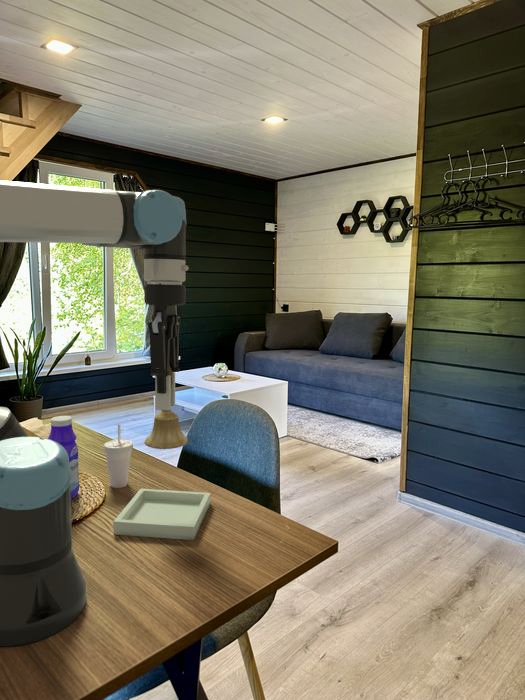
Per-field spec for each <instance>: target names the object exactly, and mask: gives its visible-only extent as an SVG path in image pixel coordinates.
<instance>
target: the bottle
mask: <svg viewBox="0 0 525 700" xmlns="http://www.w3.org/2000/svg"><path fill="white" fill-rule="evenodd" d="M72 420H73V419H72V416H70V415H58V416H54V417H51V419H50V432H49V435H48V437H47V439H50V440H53V441H55V442H57V443H59V444H60V445H62V446H63V447H64V448H65V450H66V451H67V453H68V457H69V464H70V467H71V481H70V487H71V500H73V499H74V498H76V496H77V495H78V494H79V490H80V471H79V470H80V469H79V468H80V467H79V446H78V444H77V442H76V440H77V435H76V433H75V431H74V429H73V421H72ZM73 497H74V498H73ZM72 498H73V499H72Z"/></svg>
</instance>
